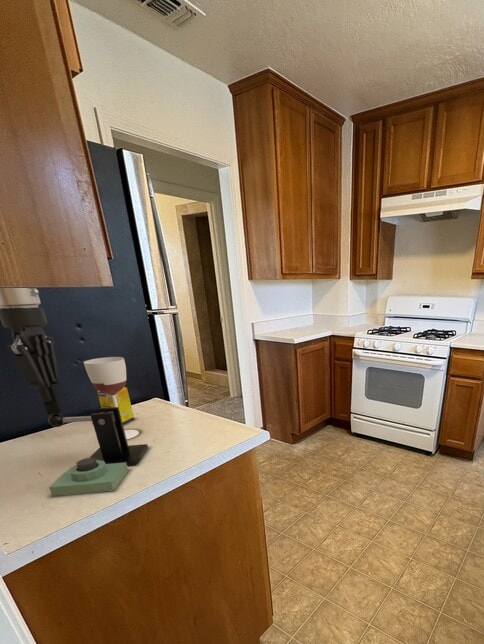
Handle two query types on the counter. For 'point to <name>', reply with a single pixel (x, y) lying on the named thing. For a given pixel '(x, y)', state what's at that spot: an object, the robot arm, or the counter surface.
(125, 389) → the supplement box
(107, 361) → the wineglass
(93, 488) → the button box
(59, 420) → the lever
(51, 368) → the robot arm
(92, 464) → the button
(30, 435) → the counter surface
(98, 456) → the bracket
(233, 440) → the counter surface
